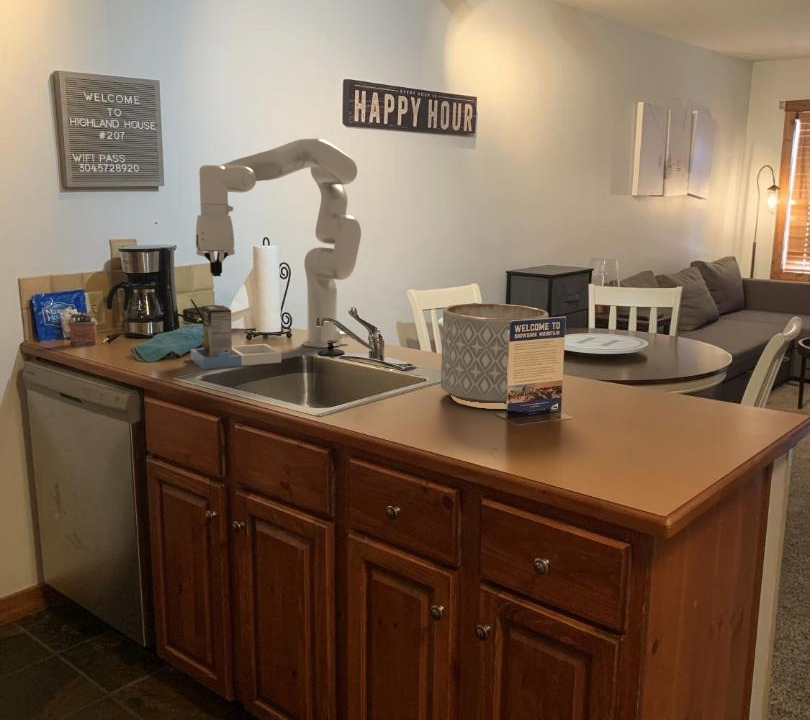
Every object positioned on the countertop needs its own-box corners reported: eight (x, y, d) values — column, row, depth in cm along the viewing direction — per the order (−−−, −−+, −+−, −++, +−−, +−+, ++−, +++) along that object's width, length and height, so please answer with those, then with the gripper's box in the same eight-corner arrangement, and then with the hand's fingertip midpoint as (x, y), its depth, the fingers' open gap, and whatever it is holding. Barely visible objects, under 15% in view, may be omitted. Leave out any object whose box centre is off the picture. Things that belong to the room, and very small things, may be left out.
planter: (468, 417, 182) (472, 321, 177) (424, 390, 205) (426, 305, 200) (563, 408, 191) (569, 317, 187) (510, 383, 215) (515, 302, 210)
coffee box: (203, 360, 234) (201, 305, 231) (225, 358, 237) (223, 304, 233) (210, 366, 226) (208, 310, 223) (232, 364, 229) (231, 309, 226)
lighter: (98, 344, 253) (96, 312, 251) (94, 346, 250) (93, 314, 248) (72, 343, 253) (70, 312, 250) (68, 345, 249) (66, 314, 247)
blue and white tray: (265, 353, 245) (265, 340, 245) (281, 362, 233) (281, 349, 233) (190, 359, 235) (190, 345, 234) (203, 368, 223) (202, 355, 222)
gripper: (236, 210, 230) (237, 273, 234) (184, 210, 223) (186, 275, 227) (244, 211, 223) (245, 276, 227) (191, 211, 216) (193, 278, 220)
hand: (216, 275), depth 227 cm, fingers closed
